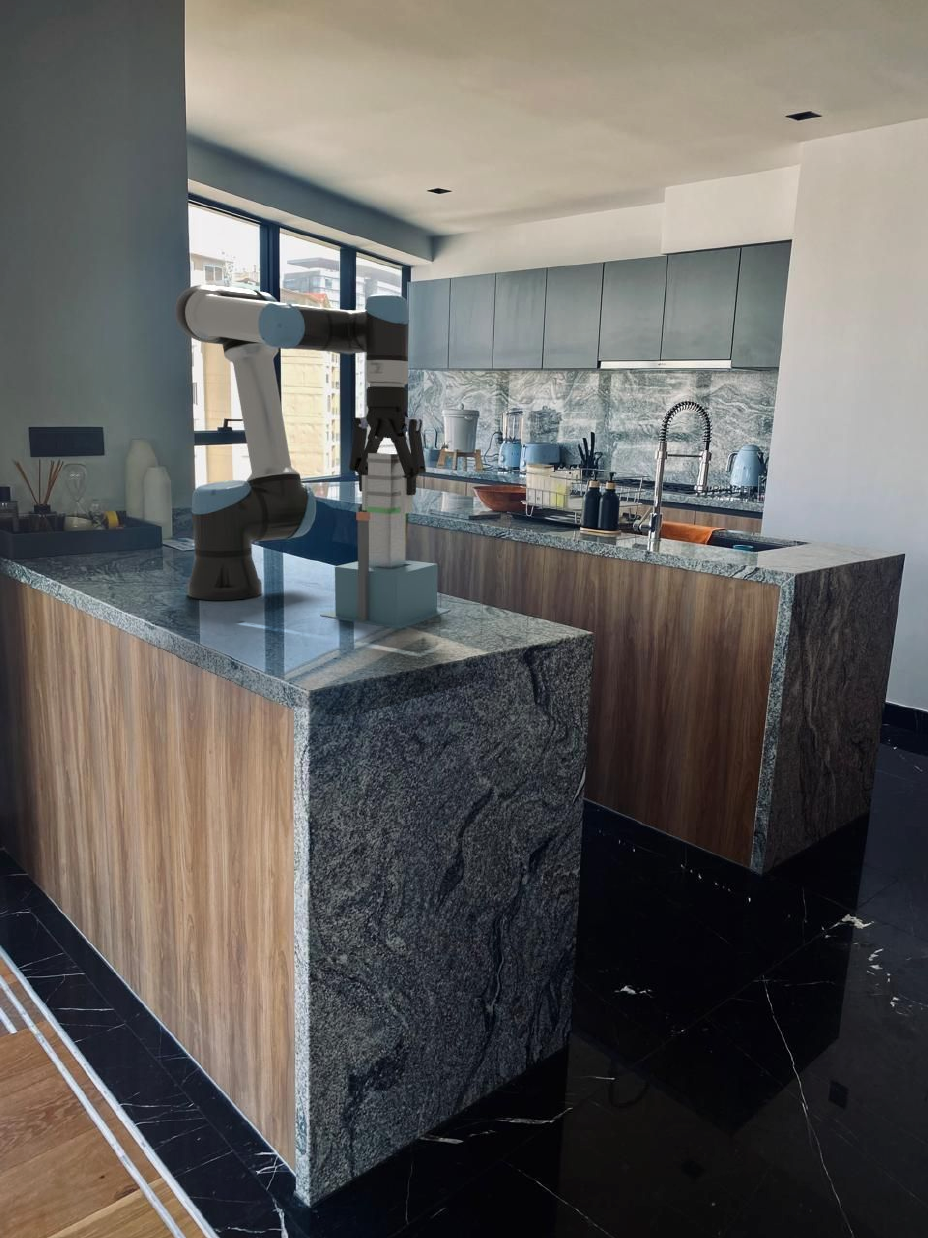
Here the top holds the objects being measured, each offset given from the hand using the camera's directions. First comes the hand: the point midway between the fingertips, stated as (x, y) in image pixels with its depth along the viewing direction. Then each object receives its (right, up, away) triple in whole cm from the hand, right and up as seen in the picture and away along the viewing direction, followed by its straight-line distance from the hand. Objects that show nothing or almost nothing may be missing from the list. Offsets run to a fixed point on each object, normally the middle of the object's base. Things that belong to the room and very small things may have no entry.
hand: (387, 511), depth 164 cm
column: (0, -11, +3) cm, 12 cm away
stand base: (0, -20, +5) cm, 20 cm away
